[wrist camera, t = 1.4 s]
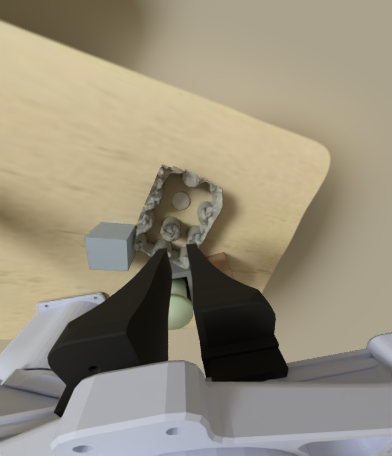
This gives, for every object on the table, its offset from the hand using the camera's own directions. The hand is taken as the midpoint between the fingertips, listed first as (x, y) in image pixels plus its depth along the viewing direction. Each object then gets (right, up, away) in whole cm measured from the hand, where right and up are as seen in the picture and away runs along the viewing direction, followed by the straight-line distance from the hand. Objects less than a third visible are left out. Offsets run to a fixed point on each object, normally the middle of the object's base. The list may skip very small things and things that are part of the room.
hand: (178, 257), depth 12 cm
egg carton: (-1, +4, +9) cm, 10 cm away
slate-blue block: (-8, +1, +9) cm, 13 cm away
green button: (-2, -6, +11) cm, 12 cm away
